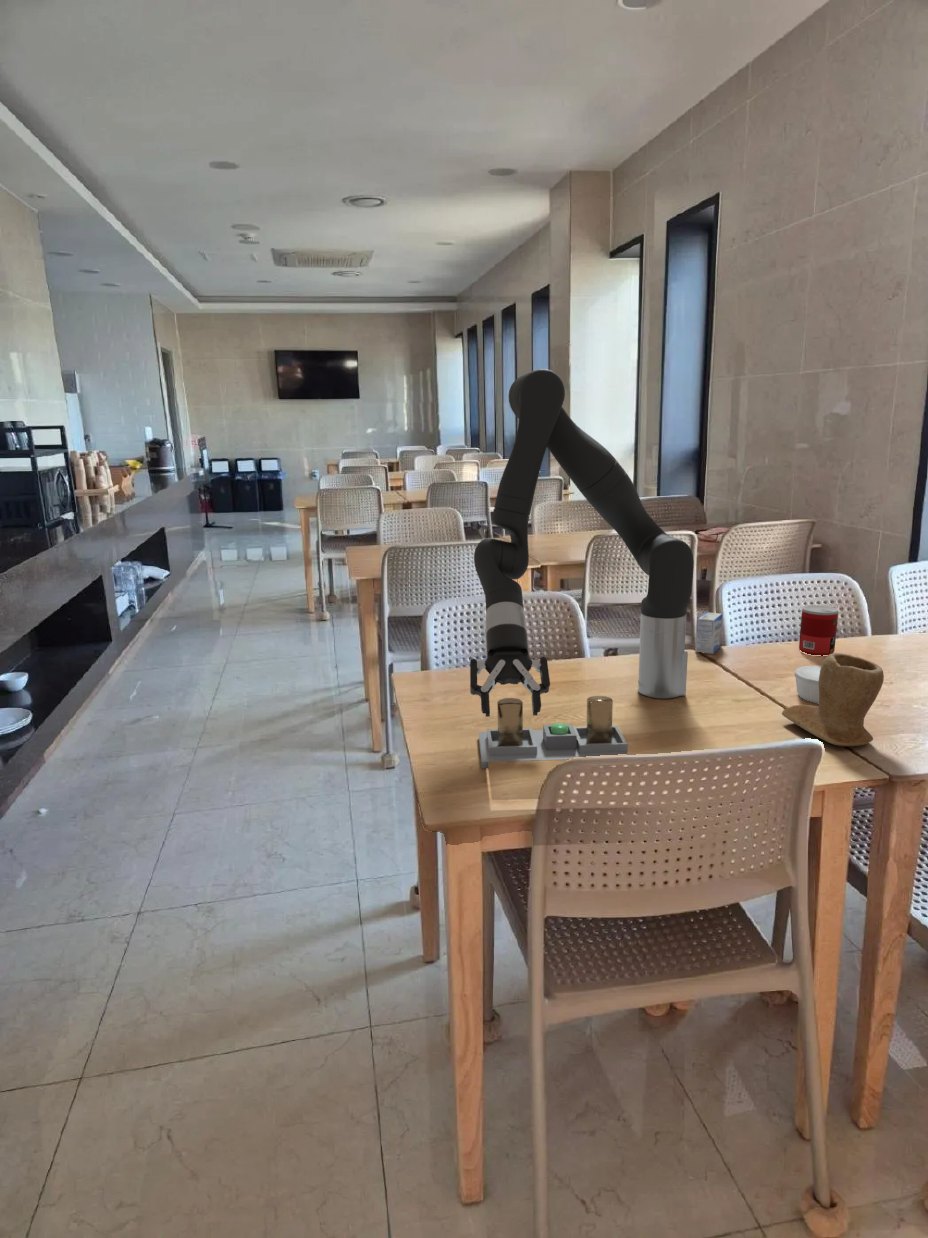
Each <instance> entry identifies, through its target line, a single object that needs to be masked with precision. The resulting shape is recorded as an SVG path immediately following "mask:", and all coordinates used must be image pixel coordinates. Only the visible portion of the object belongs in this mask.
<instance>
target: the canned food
mask: <svg viewBox="0 0 928 1238" xmlns="http://www.w3.org/2000/svg"><path fill="white" fill-rule="evenodd" d="M800 618H801V619H800V628H799V629H800V630H799V642H798V643H799V644H798V649H799V651H800V650H801V651H802V652H805V653H807V654H811V655H821V656H823V655H830V654H832V653H835V648H836V647H835V646H836V639H837V629H838V620H839V619H838V618H839V609H838V608H836V607H833V606H828V605H820V604H819V605H816V604H815V605H814V604H813V605H812V604H810V605H806V606H803V607H802V609H801V617H800ZM811 655H810V656H811ZM821 656H820V657H821ZM823 657H824V656H823Z"/></svg>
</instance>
